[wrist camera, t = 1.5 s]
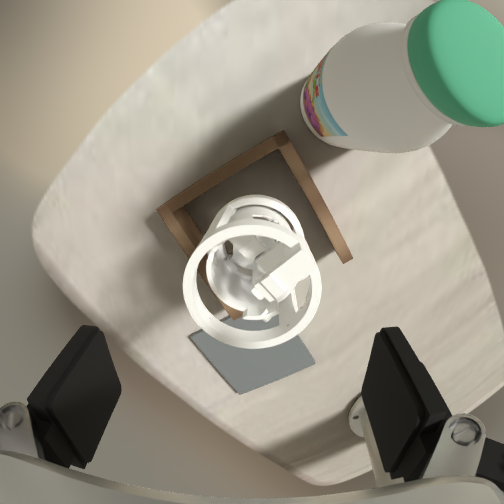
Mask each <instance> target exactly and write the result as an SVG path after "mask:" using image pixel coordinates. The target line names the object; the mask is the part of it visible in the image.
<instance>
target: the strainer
mask: <svg viewBox="0 0 504 504" xmlns="http://www.w3.org/2000/svg"><path fill="white" fill-rule="evenodd" d="M250 204H261V205H250ZM244 205H249V206H245V207H242V208H239V209H236V208H238V207H241V206H244ZM262 205H266V206H262ZM267 206H269V207H267ZM270 207H272V208H274V209H276V210H278V211H280V212H281V213H282V214H284V215H285V216H286V217H287V218H288V219H289V221H290V222H291V223H292V225H293V227H294V229H293V230H291V228H290V226H289V224H288V222H287V221H286V219H285V218H284V217H283V216H282V215H281V214H280V213H279V212H277V211H276V210H274V209H272V208H270ZM227 240H229V241H230V242H231V243H232V244H233V253H232V254H231V253H230V254H229V255H228V254H227V251H226V249H225V244H224V242H226V241H227ZM276 240H278V242H276ZM206 253H207V254H208V259H207V263H206V274H207V279H208V282H209V284H210V287H211V289H212V290H213V292H214V293H215V294H216V296H217V297H218V298H219V299H220V300H221V301H223V302H224V303H225V304H227V305H228V306H230V307H232V308H234V309H237V310H240V311H243V317H242V319H246V320H261V319H262V320H263V321H264V322H268V321H269V320H270V319H271V318H272V317H273V316H275V315H278V314H279V324H280V325H279V326H276V327H274V328H271V329H267V330H261V331H247V330H241V329H237V328H233V327H231V326H228V325H226V324H224V323H223V322H221V321H219V320H218V319H217V318H215V317H214V316H213V315H212V314H211V313H210V312H209V311H208V310H207V308H206V307H205V306H204V304H203V302H202V301H201V298H200V296H199V293H198V290H197V284H196V274H197V268H198V264H199V262H200V260H201V259H202V257H203V256H204V255H205V254H206ZM240 265H241V266H242V267H244V268H245V269H244V268H242V267H240ZM308 275H309V289H308V293H307V297H306V302H305V305H304V306H303V307H301V308H300V309H299V310H298V307H297V301H296V296H295V291H294V287H295V286H296V284H297V282H299V281H300V280H303V279H304V278H306V277H307V276H308ZM321 292H322V284H321V276H320V272H319V269H318V267H317V264H316V262H315V259H314V257H313V255H312V253H311V251H310V249H309V246H308V244H307V242H306V240H305V239H304V233H303V230H302V227H301V225H300V223H299V220H298V219H297V217H296V215H295V214H294V213H293V211H292V210H291V209H290V208H289V207H288V206H287V205H285V204H284V203H282V202H281V201H279V200H277V199H275V198H272V197H269V196H265V195H246V196H242V197H239V198H236V199H234V200H232V201H230V202H229V203H227V204H226V205H225V206H224V207H223V208H221V210H220V211H219V212H218V213H217V215H216V216H215V218H214V219H213V221H212V223H211V225H210V227H209V228H208V230H207V232H206V233H205V235H204V237H203V239H202V240H201V242H200V243H199V245H198V246H197V247H196V249H195V251H194V252H193V254H192V256H191V257H190V259H189V261H188V263H187V266H186V269H185V272H184V277H183V294H184V299H185V303H186V306H187V308H188V310H189V312H190V314H191V316H192V317H193V319H194V320H195V322H196V323H197V324H198V325H199V326H200V327H201V328H202V329H203V330H204V331H205V332H206V333H208V334H209V335H210V336H212V337H213V338H215V339H217V340H219V341H221V342H223V343H225V344H228V345H231V346H235V347H239V348H247V349H260V348H267V347H272V346H276V345H279V344H281V343H284V342H286V341H288V340H290V339H291V338H293V337H295V336H296V335H297V334H299V333H300V332H301V331H302V330H303V329H304V328H305V327H306V326H307V325H308V324H309V323H310V321H311V320H312V318H313V317H314V315H315V313H316V311H317V309H318V306H319V303H320V299H321Z"/></svg>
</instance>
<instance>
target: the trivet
mask: <svg viewBox="0 0 504 504" xmlns="http://www.w3.org/2000/svg"><path fill="white" fill-rule="evenodd" d="M242 317H243V316H242ZM242 317H240V318H238V319H236V320H234V321H233V319H232V318H231V317H230V316H228V317H226V318H224V319H222V320H220V321H221V322H223V323H224V324H226V325H228V326H231V327H233V328H237V329H241V330H247V331H261V330H267V329H271V328H274V327H276V326H279V325H280V324H279V314H278V315H275V316H273V317H272V318H271V319H270V320H269V321H268V322H264V321H263V320H262V319H261V320H246V319H242ZM190 338H191V339H192V340H193V342H194V343H195V344H196V345H197V346H198V348H199V349H200V350H201V351H202V352H203V354H204V355H205V356H206V357H207V358H208V359H209V361H210V362H211V363H212V364H213V365H214V366H215V368H216V369H217V370H218V371H219V372H220V373H221V375H222V376H223V377H224V378H225V379H226V380H227V381H228V382H229V384H230V385H231V386H232V387H233V388H234V389H235V390H236V391H237V392H238V394H239V395H241V394H243V393H246V392H249V391H251V390H254V389H257V388H259V387H262V386H264V385H267V384H269V383H272V382H274V381H277V380H279V379H281V378H284V377H286V376H289V375H291V374H293V373H296V372H298V371H300V370H302V369H305V368H307V367H309V366H311V365H314V364H315V360H314V359H313V357H312V356H311V354H310V353H309V351H308V350H307V348H306V346H305V345H304V343H303V342H302V340H301V339H300V337H299V336H298V334H297V335H296V336H295V337H293V338H291V339H290V340H288V341H286V342H284V343H281V344H279V345H276V346H272V347H267V348H260V349H247V348H239V347H235V346H231V345H228V344H225V343H223V342H221V341H219V340H217V339H215V338H213V337H212V336H210V335H209V334H208V333H206V332H205V331H204V330H203V329H201V330H199V331H197V332H195V333H193V334H191V336H190Z"/></svg>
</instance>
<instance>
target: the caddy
mask: <svg viewBox="0 0 504 504" xmlns="http://www.w3.org/2000/svg"><path fill="white" fill-rule="evenodd" d="M276 149H279V151H280V153H281V154H282V156H283V158H284V159H285V161H286V163H287V164H288V166H289V168H290V170H291V171H292V173H293V175H294V176H295V178H296V180H297V182H298V183H299V185H300V187H301V189H302V190H303V192H304V194H305V196H306V198H307V199H308V201H309V203H310V205H311V207H312V208H313V210H314V212H315V214H316V216H317V218H318V219H319V221H320V223H321V225H322V227H323V229H324V231H325V232H326V234H327V236H328V238H329V240H330V242H331V244H332V246H333V248H334V250H335V251H336V253H337V255H338V256H339V258H340V260H341V261H342V263H343V264H344V263H346V262H348V261H349V260H351V259H353V257H352V255H351V253H350V251H349V249H348V247H347V244H346V242H345V240H344V238H343V236H342V235H341V233H340V231H339V229H338V227H337V225H336V223H335V221H334V219H333V217H332V215H331V213H330V211H329V209H328V207H327V206H326V204H325V202H324V200H323V198H322V196H321V194H320V193H319V191H318V189H317V187H316V185H315V183H314V182H313V180H312V178H311V176H310V175H309V173H308V171H307V169H306V167H305V166H304V164H303V162H302V160H301V159H300V157H299V155H298V154H297V152H296V150H295V148H294V147H293V145H292V143H291V142H290V140H289V138H288V137H287V135H286V133H285V132H284V130H283V131H281V132H280V133H278V134H276V135H274V136H273V137H271V138H269V139H267V140H266V141H264V142H262V143H260V144H259V145H257V146H255V147H253V148H252V149H250V150H248V151H247V152H245V153H243V154H242V155H240V156H238V157H237V158H235V159H233V160H232V161H230V162H228V163H227V164H225V165H223V166H222V167H220V168H219V169H217V170H215V171H214V172H212V173H211V174H209V175H207V176H206V177H204V178H203V179H201V180H200V181H198V182H196V183H195V184H193V185H192V186H190V187H189V188H187V189H186V190H184V191H183V192H181V193H180V194H178V195H177V196H175V197H174V198H172V199H171V200H169V201H168V202H166V203H165V204H163V205H162V206H160V207H159V208H157V209H156V210H157V212H158V213H159V215H160V216H161V218H162V219H163V221H164V222H165V224H166V225H167V227H168V228H169V230H170V231H171V233H172V234H173V236H174V237H175V239H176V240H177V242H178V243H179V245H180V246H181V247H182V249H183V250H184V252H185V253H186V255H187V256H188V258H189V259H190V257H191V256H192V254H193V252H194V251H195V249H196V247H197V246H198V245H199V243H200V242H201V240H202V239H203V235H202V234H201V232H200V231H199V229H198V228H197V226H196V225H195V223H194V222H193V220H192V218H191V217H190V215H189V214H188V212H187V211H186V209H185V208H184V205H185V204H187V203H188V202H190V201H192V200H193V199H195V198H196V197H198V196H199V195H201V194H203V193H204V192H206V191H207V190H209V189H211V188H212V187H214V186H215V185H217V184H219V183H220V182H222V181H223V180H225V179H227V178H228V177H230V176H232V175H233V174H235V173H237V172H238V171H240V170H242V169H243V168H245V167H247V166H248V165H250V164H252V163H254V162H255V161H257V160H259V159H260V158H262V157H264V156H266V155H267V154H269V153H271V152H273V151H274V150H276ZM207 259H208V254H207V253H206V254H205V255H204V256H203V257H202V259H201V260H200V262H199V264H198V268H197V271H198V272H199V273H200V275H201V276H202V278H203V279H204V281H205V282H206V283H207V285H208V286H209V288H210V289H211V287H210V284H209V282H208V279H207V274H206V263H207ZM211 290H212V289H211ZM212 292H213V290H212ZM213 293H214V292H213ZM214 295H215V296H216V294H215V293H214ZM216 297H217V296H216ZM217 299H218V300H219V302H220V303H221V304H222V306H223V307H224V308H225V310H226V311H227V313H228V314H229V315H230V317H231V318H232V319H233V321H234V320H236V319H238V318H240V317H242V316H243V311H240V310H237V309H234V308H232V307H230V306H228V305H227V304H225V303H224V302H223V301H221V300H220V299H219V298H218V297H217Z"/></svg>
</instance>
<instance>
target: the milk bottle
mask: <svg viewBox="0 0 504 504" xmlns="http://www.w3.org/2000/svg"><path fill="white" fill-rule="evenodd" d="M300 108H301V113H302V116H303V119H304V121H305V123H306V125H307V126H308V128H309V129H310V130H311V131H312V133H313V134H314V135H315V136H317V137H318V138H319V139H320V140H322V141H324V142H326V143H328V144H330V145H333V146H336V147H340V148H347V149H355V150H363V151H372V152H380V153H404V152H409V151H415V150H418V149H421V148H423V147H426V146H428V145H430V144H432V143H433V142H435V141H436V140H438V139H439V138H440V137H442V136H443V135H444V134H445V133H446V132H447V130H448V129H449V128H450V127H451V126H452V124H453V125H456V126H477V127H494V126H499V125H501V124H504V27H503V26H502V25H501V24H500V23H499V21H498V20H497V19H496V18H495V17H493V16H492V15H491V14H490V13H489V12H488V11H486V10H485V9H484V8H482V7H480V6H479V5H477V4H475V3H473V2H470V1H468V0H440V1H438V2H436V3H434V4H432V5H430V6H429V7H427V8H426V9H425V10H423V11H422V12H421V13H420V14H418V15H417V16H415V17H413V18H412V19H411V20H410V21H409V22H408V23H407V24H400V23H392V22H383V23H374V24H369V25H366V26H363V27H360V28H358V29H355V30H354V31H352V32H350V33H349V34H347V35H345V36H344V37H343V38H341V39H340V40H339V41H338V42H337V43H336V44H335V45H334V46H333V47H332V48H331V49H330V50H329V52H328V53H327V54H326V55H325V57H324V58H323V59H322V60H321V61H320V63H319V64H318V65H317V67H316V68H315V69H314V71H313V72H312V73H311V75H310V76H309V77H308V79H307V81H306V82H305V84H304V86H303V89H302V92H301V97H300Z"/></svg>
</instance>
